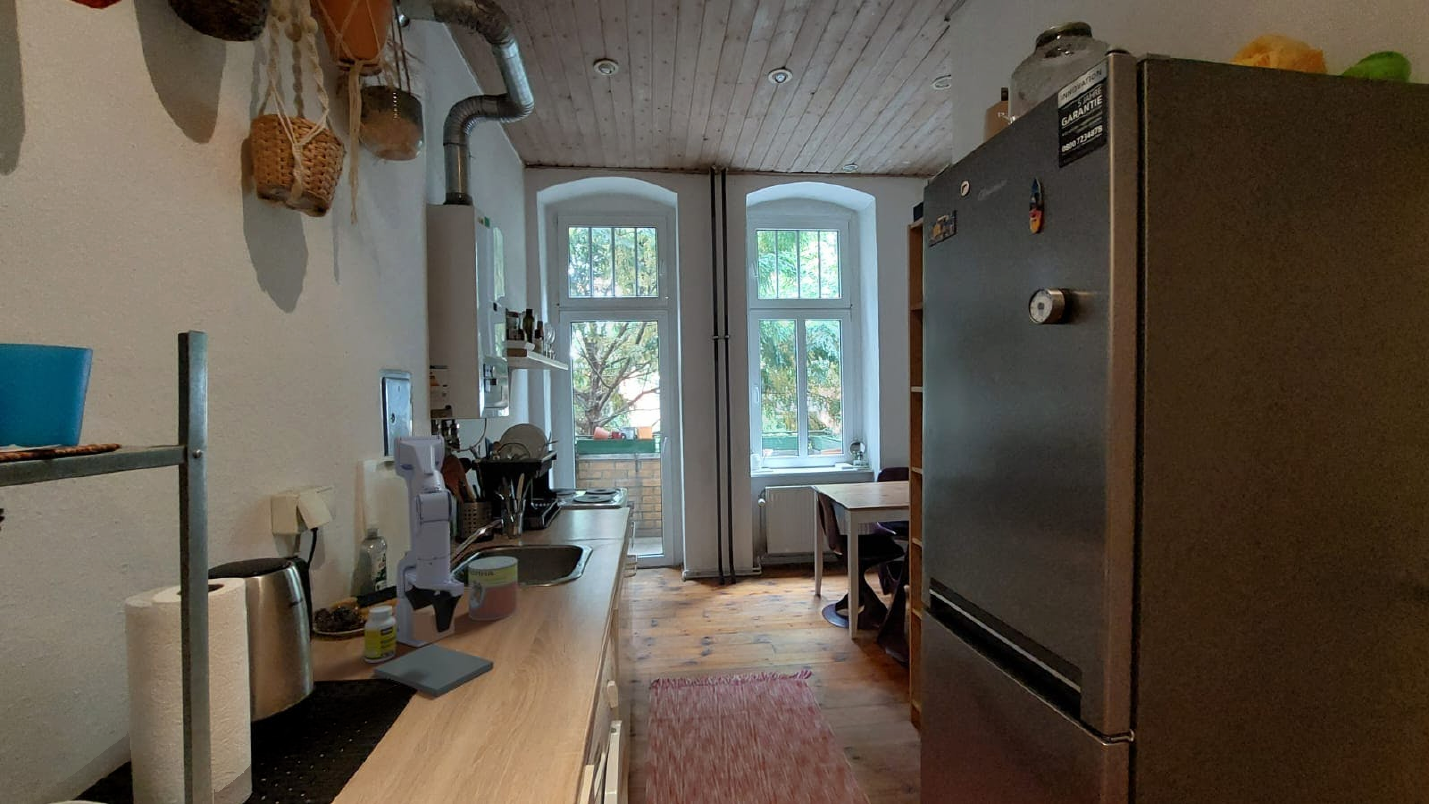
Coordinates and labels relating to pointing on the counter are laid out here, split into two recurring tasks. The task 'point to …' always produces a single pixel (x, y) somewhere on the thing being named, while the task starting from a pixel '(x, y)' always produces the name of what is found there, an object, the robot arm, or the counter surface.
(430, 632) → the terracotta cube
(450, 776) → the counter surface
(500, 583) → the canned food
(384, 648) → the supplement bottle
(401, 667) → the slate board
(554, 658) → the counter surface
